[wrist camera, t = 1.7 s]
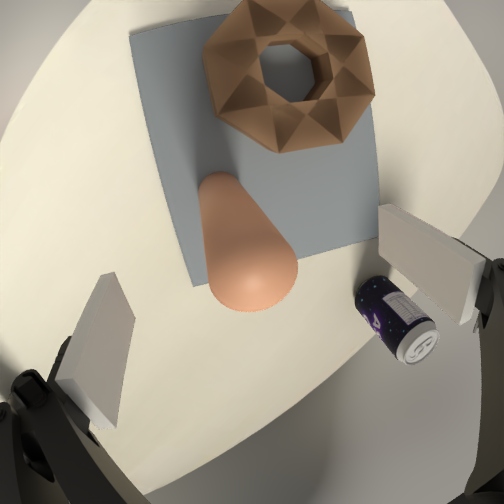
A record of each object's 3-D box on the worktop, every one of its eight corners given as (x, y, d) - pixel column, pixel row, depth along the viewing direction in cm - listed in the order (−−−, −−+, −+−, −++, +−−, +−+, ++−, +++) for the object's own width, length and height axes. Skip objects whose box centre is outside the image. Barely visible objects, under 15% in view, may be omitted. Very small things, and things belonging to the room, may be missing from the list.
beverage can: (345, 289, 36) (397, 351, 25) (381, 264, 35) (440, 316, 25) (358, 316, 38) (405, 376, 28) (391, 293, 38) (443, 345, 27)
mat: (193, 284, 31) (193, 286, 31) (130, 38, 20) (128, 36, 19) (377, 234, 33) (380, 236, 33) (349, 12, 22) (351, 11, 21)
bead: (223, 158, 26) (228, 164, 23) (193, 19, 20) (194, 3, 16) (358, 135, 27) (380, 138, 24) (334, 10, 21) (353, -2, 18)
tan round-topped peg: (203, 217, 28) (220, 321, 14) (193, 177, 26) (197, 245, 12) (244, 207, 28) (302, 298, 14) (236, 166, 27) (291, 220, 12)
